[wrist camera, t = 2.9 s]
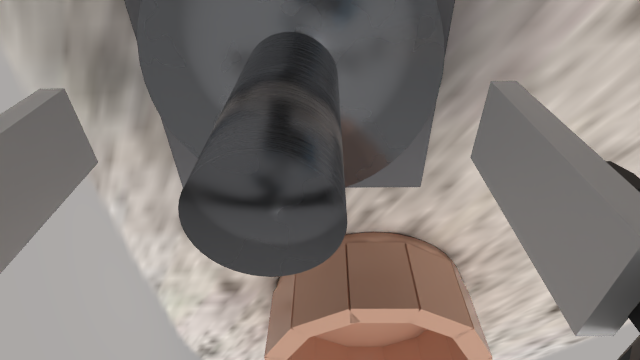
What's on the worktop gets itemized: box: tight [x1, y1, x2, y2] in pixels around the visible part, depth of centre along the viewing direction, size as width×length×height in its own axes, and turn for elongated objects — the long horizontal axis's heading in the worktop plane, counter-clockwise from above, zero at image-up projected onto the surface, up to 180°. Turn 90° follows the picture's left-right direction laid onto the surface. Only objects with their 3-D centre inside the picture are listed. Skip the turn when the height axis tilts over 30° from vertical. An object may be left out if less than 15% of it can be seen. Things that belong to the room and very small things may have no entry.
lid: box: [137, 0, 444, 277], centre depth 11 cm, size 12×12×9 cm
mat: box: [124, 0, 455, 188], centre depth 15 cm, size 12×12×1 cm
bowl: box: [264, 232, 492, 360], centre depth 23 cm, size 12×12×5 cm
